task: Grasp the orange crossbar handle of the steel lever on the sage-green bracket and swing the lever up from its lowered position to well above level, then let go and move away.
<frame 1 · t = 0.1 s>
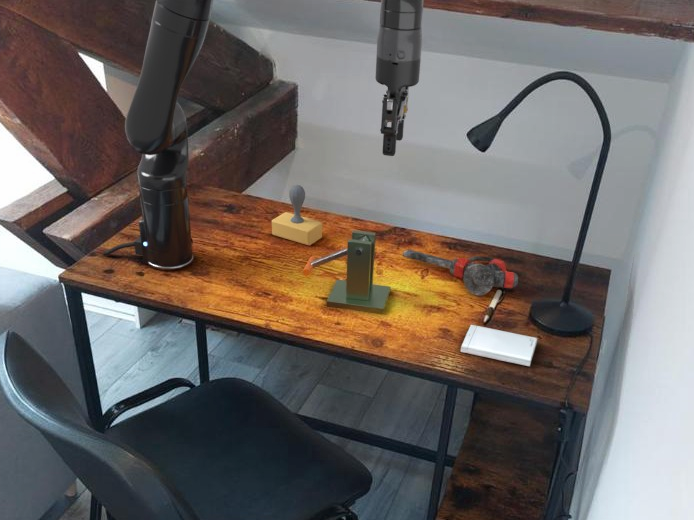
hand: (392, 147, 146), 29 cm above the table, tool pointing down, fingers open, 8 cm apart
rubber stamp: (297, 237, 180), on the table
lever: (336, 255, 154), point 9 cm above the table, hinge at -30.0°
hard drive: (498, 349, 146), on the table
valve: (463, 273, 170), on the table
bracket: (359, 298, 158), on the table
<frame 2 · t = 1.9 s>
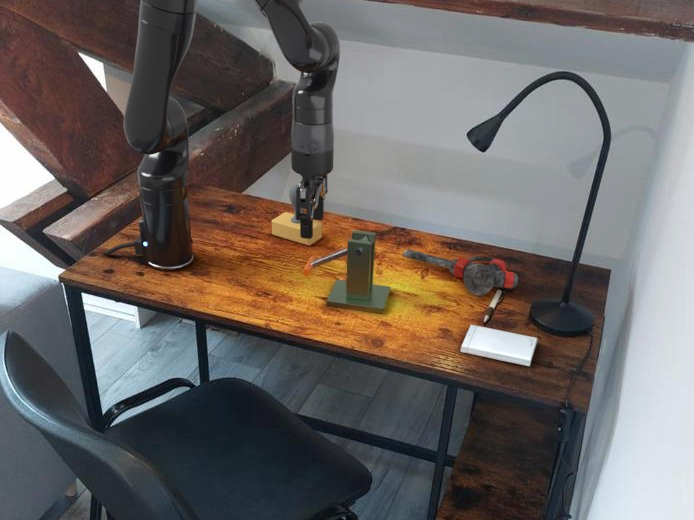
hand: (312, 228, 152), 14 cm above the table, tool pointing down, fingers open, 8 cm apart
nothing on the table moved.
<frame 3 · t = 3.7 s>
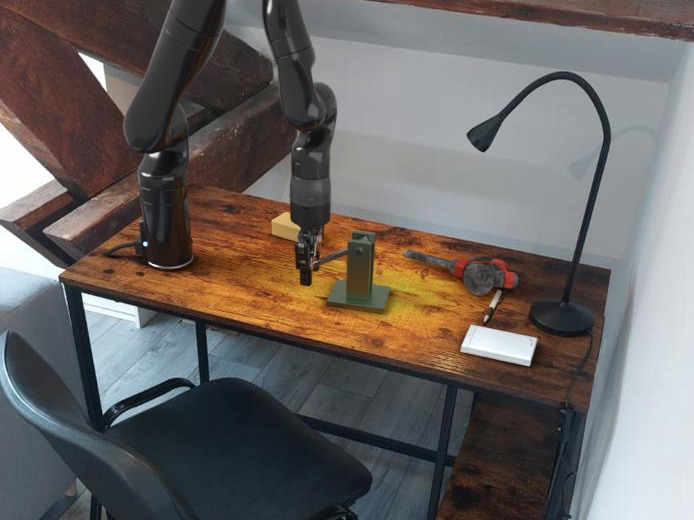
hand: (309, 277, 158), 3 cm above the table, tool pointing down, fingers closed on lever, 5 cm apart
lever: (336, 255, 154), point 9 cm above the table, hinge at -30.1°, touching gripper
everything else where it was.
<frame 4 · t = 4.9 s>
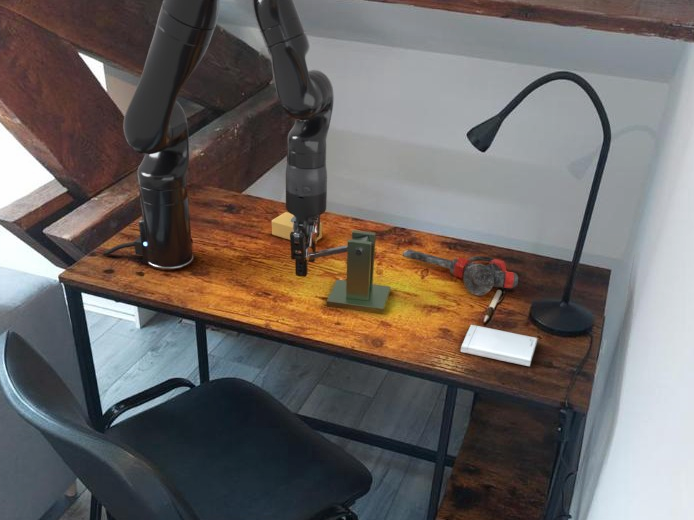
hand: (305, 268, 157), 5 cm above the table, tool pointing down, fingers closed on lever, 5 cm apart
lever: (334, 251, 153), point 10 cm above the table, hinge at -19.9°, touching gripper
everything else where it was.
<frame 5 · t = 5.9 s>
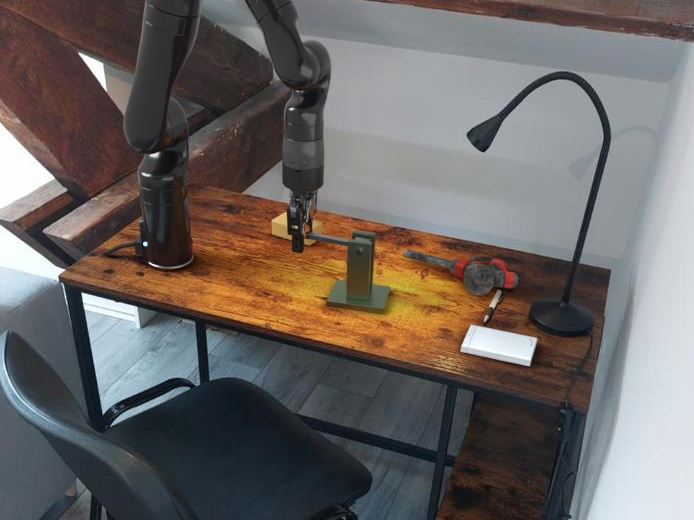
hand: (302, 244, 154), 10 cm above the table, tool pointing down, fingers closed on lever, 5 cm apart
lever: (333, 240, 152), point 12 cm above the table, hinge at 3.9°, touching gripper
everything else where it was.
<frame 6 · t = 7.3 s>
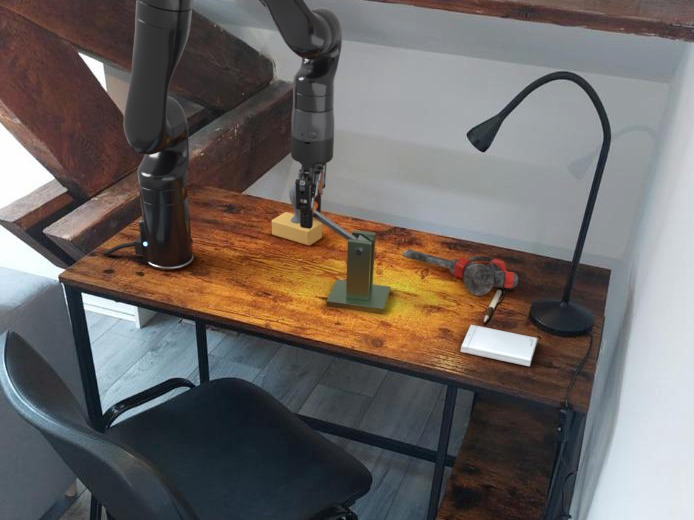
hand: (310, 220, 151), 15 cm above the table, tool pointing down, fingers closed on lever, 5 cm apart
lever: (337, 229, 151), point 14 cm above the table, hinge at 30.2°, touching gripper
everything else where it was.
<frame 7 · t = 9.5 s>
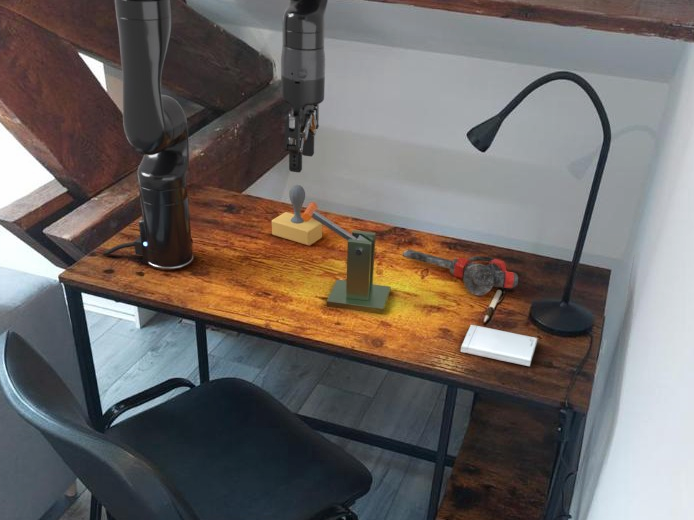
hand: (301, 163, 148), 25 cm above the table, tool pointing down, fingers open, 8 cm apart
lever: (337, 229, 151), point 14 cm above the table, hinge at 29.1°
everything else where it was.
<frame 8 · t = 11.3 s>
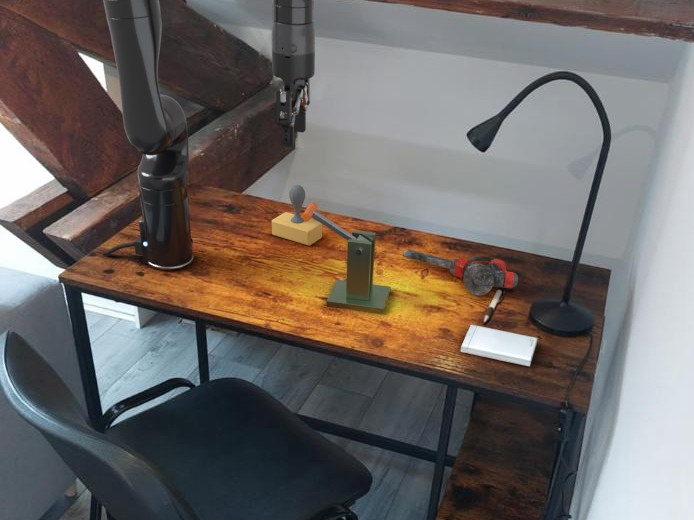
hand: (293, 138, 150), 28 cm above the table, tool pointing down, fingers open, 8 cm apart
nothing on the table moved.
at the end: lever at +29° (first picture: -30°); lever reached +30° during the clip, +29° at the end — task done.
